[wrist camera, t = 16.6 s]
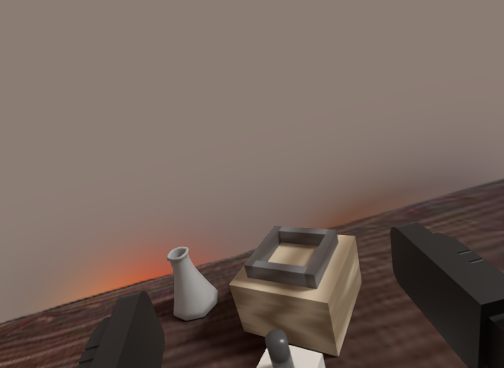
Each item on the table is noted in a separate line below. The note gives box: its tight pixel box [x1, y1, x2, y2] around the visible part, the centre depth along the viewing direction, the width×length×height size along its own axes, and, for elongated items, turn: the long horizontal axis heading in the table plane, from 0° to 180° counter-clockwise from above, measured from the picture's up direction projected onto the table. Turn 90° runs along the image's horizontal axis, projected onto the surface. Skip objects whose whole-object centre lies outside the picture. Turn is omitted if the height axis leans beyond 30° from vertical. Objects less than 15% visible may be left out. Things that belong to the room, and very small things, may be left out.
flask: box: [167, 247, 218, 321], centre depth 50 cm, size 7×7×10 cm
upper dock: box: [229, 226, 361, 356], centre depth 44 cm, size 13×13×10 cm
